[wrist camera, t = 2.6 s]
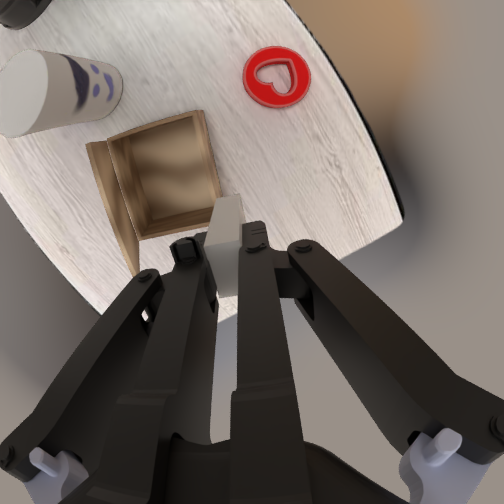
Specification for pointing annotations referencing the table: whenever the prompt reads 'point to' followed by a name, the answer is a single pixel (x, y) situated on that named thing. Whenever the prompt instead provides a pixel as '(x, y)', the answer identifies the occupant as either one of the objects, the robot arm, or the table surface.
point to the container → (54, 92)
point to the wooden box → (167, 174)
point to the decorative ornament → (266, 91)
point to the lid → (114, 203)
